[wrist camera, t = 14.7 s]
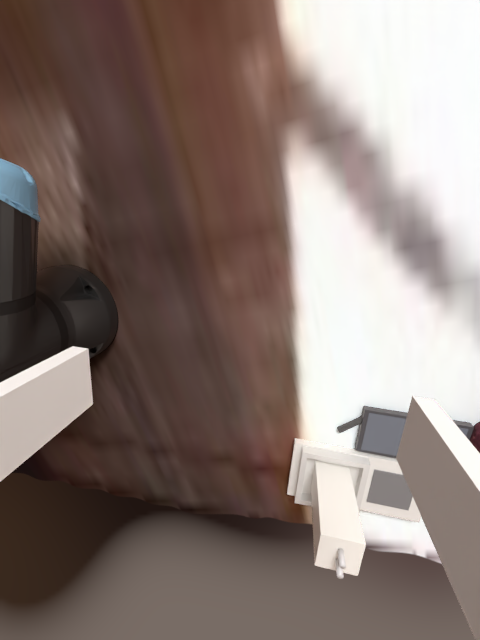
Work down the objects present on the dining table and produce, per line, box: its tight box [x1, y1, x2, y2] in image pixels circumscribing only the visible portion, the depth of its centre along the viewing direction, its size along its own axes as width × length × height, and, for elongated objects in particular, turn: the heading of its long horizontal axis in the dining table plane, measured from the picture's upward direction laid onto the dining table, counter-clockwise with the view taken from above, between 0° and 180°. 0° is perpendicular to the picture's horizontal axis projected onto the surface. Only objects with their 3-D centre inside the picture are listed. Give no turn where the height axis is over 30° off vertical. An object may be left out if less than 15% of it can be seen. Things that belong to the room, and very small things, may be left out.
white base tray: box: [287, 438, 421, 522], centre depth 46 cm, size 20×10×3 cm, turn 86°
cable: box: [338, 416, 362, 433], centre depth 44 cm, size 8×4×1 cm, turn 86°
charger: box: [311, 461, 366, 579], centre depth 40 cm, size 5×5×14 cm
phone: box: [355, 406, 474, 458], centre depth 43 cm, size 7×14×1 cm, turn 86°
